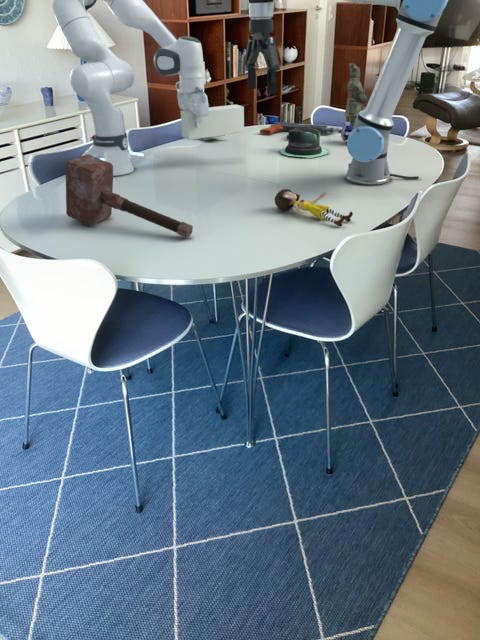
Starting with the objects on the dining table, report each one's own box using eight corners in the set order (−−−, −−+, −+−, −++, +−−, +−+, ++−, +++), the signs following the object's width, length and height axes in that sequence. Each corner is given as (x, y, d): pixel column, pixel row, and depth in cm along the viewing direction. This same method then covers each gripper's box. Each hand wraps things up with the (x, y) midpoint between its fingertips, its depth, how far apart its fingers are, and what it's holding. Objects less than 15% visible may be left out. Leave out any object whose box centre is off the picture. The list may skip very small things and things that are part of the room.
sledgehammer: (202, 197, 152) (86, 152, 164) (183, 208, 145) (63, 160, 156) (194, 252, 162) (86, 206, 174) (176, 265, 155) (64, 216, 166)
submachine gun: (253, 131, 261) (276, 121, 280) (253, 137, 263) (276, 126, 281) (316, 137, 247) (336, 126, 266) (315, 143, 249) (335, 132, 267)
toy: (345, 120, 249) (377, 123, 242) (343, 139, 253) (375, 143, 246) (337, 123, 243) (369, 127, 236) (336, 143, 247) (367, 147, 240)
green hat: (332, 145, 241) (326, 158, 224) (294, 164, 249) (286, 177, 233) (317, 113, 235) (310, 124, 219) (279, 133, 244) (269, 145, 228)
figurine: (337, 215, 154) (266, 188, 166) (332, 239, 158) (263, 212, 171) (360, 203, 163) (291, 178, 175) (355, 226, 167) (288, 200, 179)
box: (188, 139, 209) (187, 113, 204) (182, 136, 213) (180, 110, 209) (244, 132, 218) (243, 106, 213) (236, 129, 223) (236, 104, 218)
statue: (367, 132, 266) (374, 63, 251) (349, 133, 264) (355, 64, 249) (357, 127, 275) (362, 61, 260) (339, 129, 273) (344, 62, 258)
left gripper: (212, 88, 197) (213, 129, 204) (189, 82, 212) (191, 119, 219) (196, 90, 194) (198, 131, 201) (173, 83, 210) (176, 121, 217)
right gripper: (291, 19, 165) (290, 95, 176) (253, 17, 184) (254, 85, 195) (269, 20, 162) (269, 97, 173) (233, 18, 182) (234, 87, 192)
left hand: (194, 125), depth 211 cm, fingers closed on box, 6 cm apart
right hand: (261, 91), depth 184 cm, fingers open, 13 cm apart
